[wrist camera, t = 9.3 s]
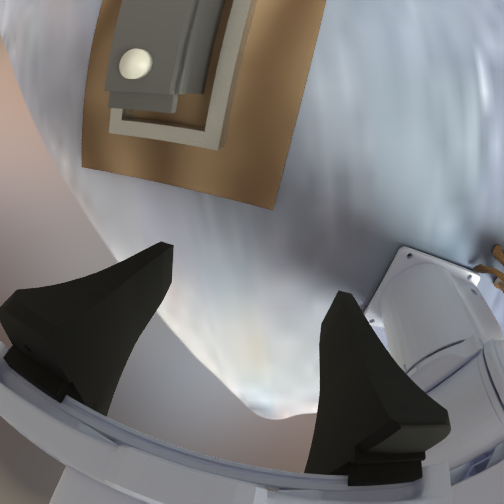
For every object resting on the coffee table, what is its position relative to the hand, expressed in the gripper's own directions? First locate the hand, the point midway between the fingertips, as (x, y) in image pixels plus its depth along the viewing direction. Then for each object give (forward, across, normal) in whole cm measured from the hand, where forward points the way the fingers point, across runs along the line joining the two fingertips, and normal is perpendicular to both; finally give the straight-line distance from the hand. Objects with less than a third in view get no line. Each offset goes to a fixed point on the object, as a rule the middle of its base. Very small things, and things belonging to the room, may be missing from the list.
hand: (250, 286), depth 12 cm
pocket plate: (+9, +8, -10) cm, 16 cm away
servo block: (+8, +8, -10) cm, 15 cm away
